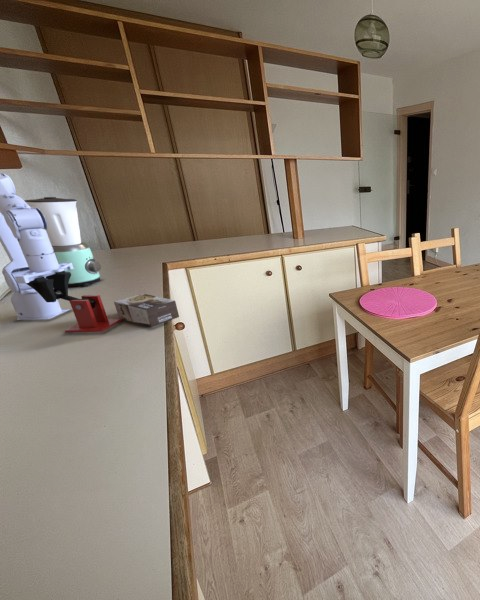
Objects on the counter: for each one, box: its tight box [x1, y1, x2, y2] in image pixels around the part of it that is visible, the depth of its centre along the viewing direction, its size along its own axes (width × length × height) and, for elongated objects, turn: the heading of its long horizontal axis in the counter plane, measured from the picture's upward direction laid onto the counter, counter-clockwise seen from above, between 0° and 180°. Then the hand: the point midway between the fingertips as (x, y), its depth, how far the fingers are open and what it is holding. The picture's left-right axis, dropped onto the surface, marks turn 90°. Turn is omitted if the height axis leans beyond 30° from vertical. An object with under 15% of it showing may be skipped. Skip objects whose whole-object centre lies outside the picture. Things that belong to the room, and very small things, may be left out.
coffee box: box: [113, 293, 180, 328], centre depth 101 cm, size 9×6×16 cm
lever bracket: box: [64, 294, 123, 334], centre depth 94 cm, size 10×8×10 cm
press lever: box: [53, 288, 96, 308], centre depth 92 cm, size 11×3×3 cm, turn 96°
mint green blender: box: [23, 196, 102, 288], centre depth 126 cm, size 19×13×35 cm
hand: (57, 299), depth 91 cm, fingers open, 3 cm apart
